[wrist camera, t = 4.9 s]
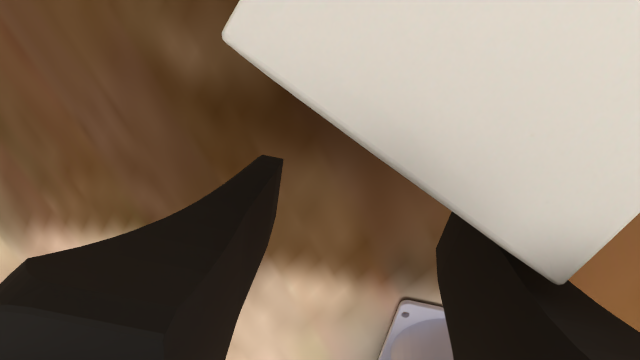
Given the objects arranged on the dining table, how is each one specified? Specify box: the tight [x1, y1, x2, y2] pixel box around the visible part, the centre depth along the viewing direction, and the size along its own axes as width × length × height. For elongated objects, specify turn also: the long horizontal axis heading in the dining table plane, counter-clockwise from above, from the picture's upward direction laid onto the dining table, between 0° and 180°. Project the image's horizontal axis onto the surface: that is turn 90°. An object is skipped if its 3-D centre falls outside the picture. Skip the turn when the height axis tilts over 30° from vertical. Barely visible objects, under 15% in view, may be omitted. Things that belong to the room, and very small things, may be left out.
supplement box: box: [222, 0, 640, 285], centre depth 12 cm, size 7×7×13 cm
